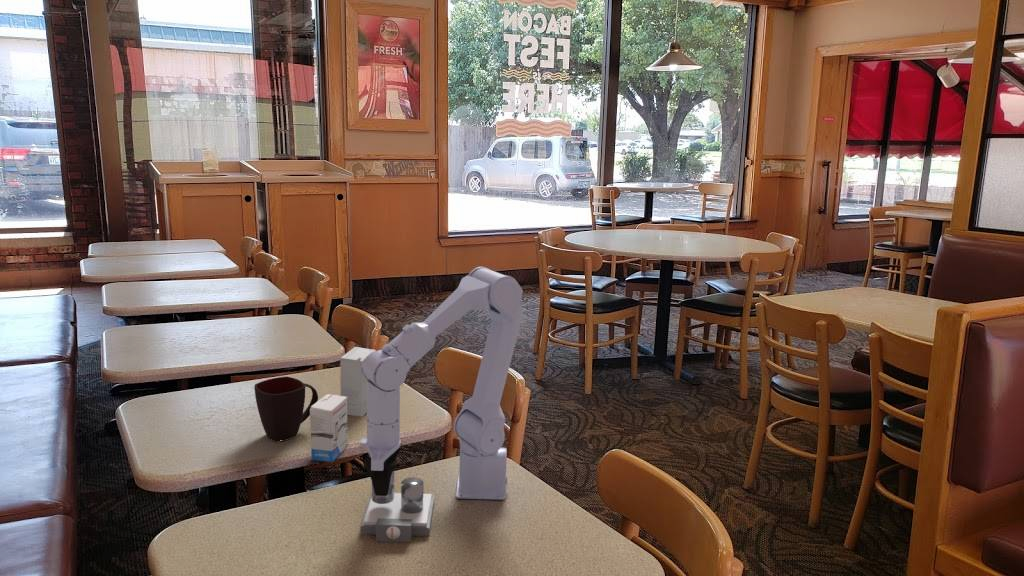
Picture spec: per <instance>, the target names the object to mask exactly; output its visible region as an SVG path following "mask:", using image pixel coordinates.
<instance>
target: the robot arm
mask: <svg viewBox="0 0 1024 576" xmlns="http://www.w3.org/2000/svg"><path fill="white" fill-rule="evenodd" d="M523 293H524V290H523V289H522V287H521V285H520V284H519V283H518V281H517V280H516V278H514V277H513V276H511V275H506V274H502V273H500V272H497V271H494V270H491V269H490V268H488V267H486V266H477V267H475V268H473V269H472V270H470V272H469V273H468V274H467V275H466V276H464V277H462V278H461V280H460V281H459V284H458V287H457V288H455V290H454V291H453V292H452V293H451V294H450V295H448V297H447V298H446V299H445V300H444V301H442V303H440V304H439V306H438V307H437V308H436V309H435V310H434V311H432V313H431V314H430V315H429V316H428V317H427V318H425V319H424V320H423V322H422V321H421V322H414V321H413V322H412V323H410V324H405V325H404V326H403V327H402V328H401V329H402V331H401V332H400V333H398V334H397V336H395V337H394V338H393V339H392V340H391V341H390V342H389V343H386V344H384V345H383V346H382V347H381V349H380V350H379V349H378V350H376V351H374V352H372V353H370V354H369V355H368V356H367V357H366V359H365V361H364V363H363V366H361V367H360V369H361V373H362V375H363V376H364V377H365V378H366V380H367V413H366V438H365V437H364V438H361V439H360V443H359V444H360V447H363V448H364V447H365V448H366V449H367V453H368V455H369V457H367V456H366V457H365V458H364V461H363V467H364V468H365V470H366V472H367V473H368V475H369V477H370V479H371V485H372V484H373V489H374V492H375V495H376V496H387V494H388V491H389V486H390V480H391V475H392V472H393V471H394V472H395V469H396V467H397V463H398V460H397V457H398V454H399V453H400V451H401V449H402V446H403V443H402V441H401V438H400V436H401V434H400V433H401V432H400V431H401V429H400V428H401V424H400V423H401V420H400V419H401V405H400V404H401V393H400V392H401V386H403V384H404V383H405V381H406V378H407V375H408V372H409V371H410V370H411V368H412V367H413V366H414V365H415V364H416V363H418V362H419V361H420V360H421V359H422V358H423V357H424V356H426V355H427V353H429V352H430V351H431V350H432V349H433V348H434V347H435V342H436V337H437V336H438V335H439V334H441V333H442V332H444V331H445V330H446V329H447V328H448V327H450V326H452V325H453V324H454V323H455V322H456V321H458V320H459V319H460V318H461V317H463V316H464V315H465V314H467V313H468V312H469V311H486V313H487V314H488V316H489V317H490V318H491V322H490V327H489V330H488V333H487V338H486V342H485V345H484V350H483V353H482V357H481V361H480V365H479V369H478V373H477V377H476V382H475V385H474V389H473V393H472V396H471V397H469V398H468V399H467V400H465V401H464V402H463V403H462V407H461V410H460V411H459V413H458V414H457V415H456V417H455V420H454V421H453V432H454V434H455V435H456V436H457V437H459V440H458V441H459V467H458V468H459V471H458V472H459V473H458V475H459V476H458V477H457V483H456V490H455V491H456V492H455V497H456V499H458V500H459V499H462V500H463V499H464V500H465V499H466V500H470V499H471V500H499V501H500V500H501V501H502V500H506V486H507V484H508V474H507V461H508V459H507V458H508V457H507V455H508V454H507V453H508V451H507V449H508V448H506V447H503V444H504V442H505V438H506V437H505V436H506V433H505V423H506V417H505V414H504V413H503V409H502V407H501V401H502V397H503V393H504V389H505V385H506V382H507V377H508V374H509V370H510V367H511V362H512V358H513V354H514V351H515V346H516V343H517V340H518V339H517V338H518V336H519V331H520V327H521V323H522V320H523V319H522V318H523V311H522V303H521V301H522V297H523Z"/></svg>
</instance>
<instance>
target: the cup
mask: <svg viewBox="0 0 1024 576" xmlns="http://www.w3.org/2000/svg"><path fill="white" fill-rule="evenodd" d="M253 388H254V396H255V402H256V408H257V410H258V414H259V415H258V416H259V418H260V421H261V425H262V428H263V430H264V432H265V435H266V437H267V438H268V439H269V438H270V440H271V439H272V440H271V441H273V440H275V441H274V442H276V441H280V440H285V441H287V440H286V439H289V438H291V439H293V438H292V437H294V436H295V437H297V436H296V435H298V433H299V430H300V426H301V424H302V423H304V421H306V420H307V419H308V418H310V408H311V406H312V405H314V404H315V403H316V402H317V401H319V394H318V392H317V390H316V389H315V387H314V386H313V385H311V384H309V383H304V382H303V381H301V380H300V379H297V378H296V377H291V376H279V377H273V378H269V379H265V380H262V381H260V382H257V383H255V384H254V387H253ZM306 388H308V389H310V390H311V393H312V395H311V400H310V402H309V405H308V406H307V407H306V409H304V408H305V403H306V402H305V401H306ZM304 410H305V411H304ZM295 437H294V438H295ZM289 440H290V439H289ZM280 442H281V441H280Z"/></svg>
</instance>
